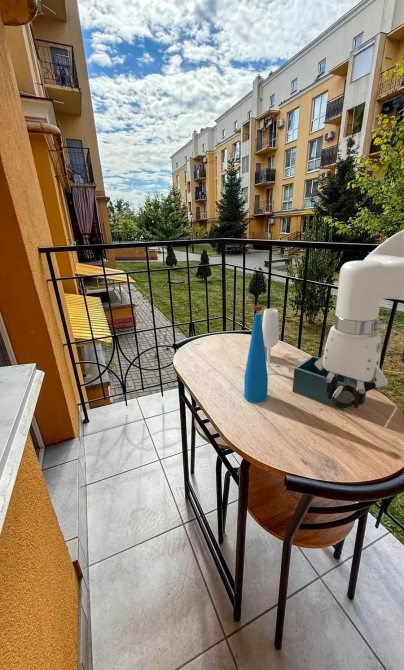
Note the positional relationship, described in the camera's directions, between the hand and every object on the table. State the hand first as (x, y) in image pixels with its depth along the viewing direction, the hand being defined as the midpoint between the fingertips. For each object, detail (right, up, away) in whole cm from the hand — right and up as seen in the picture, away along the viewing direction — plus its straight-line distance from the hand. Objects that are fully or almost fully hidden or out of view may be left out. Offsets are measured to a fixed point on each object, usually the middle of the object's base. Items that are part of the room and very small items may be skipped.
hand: (344, 400), depth 63 cm
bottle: (-15, -6, +29) cm, 33 cm away
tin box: (+8, -4, +29) cm, 31 cm away
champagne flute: (-7, +1, +45) cm, 46 cm away
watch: (0, -1, 0) cm, 1 cm away
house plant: (-5, +6, +58) cm, 59 cm away
